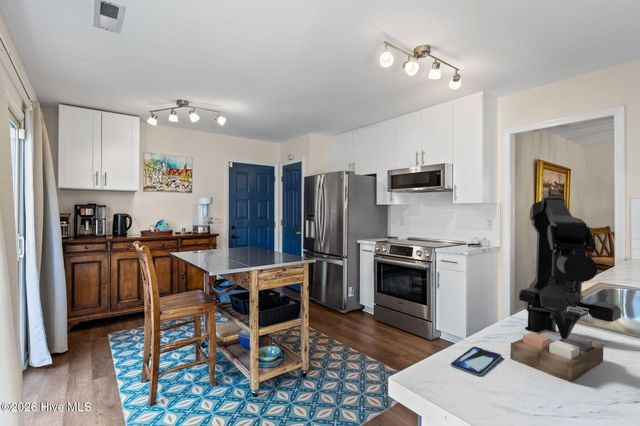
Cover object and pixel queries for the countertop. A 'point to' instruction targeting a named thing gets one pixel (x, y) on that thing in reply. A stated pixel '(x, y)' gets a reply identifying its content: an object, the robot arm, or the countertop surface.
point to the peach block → (536, 340)
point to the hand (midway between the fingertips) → (564, 338)
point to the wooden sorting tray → (556, 359)
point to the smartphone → (476, 361)
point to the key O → (579, 342)
